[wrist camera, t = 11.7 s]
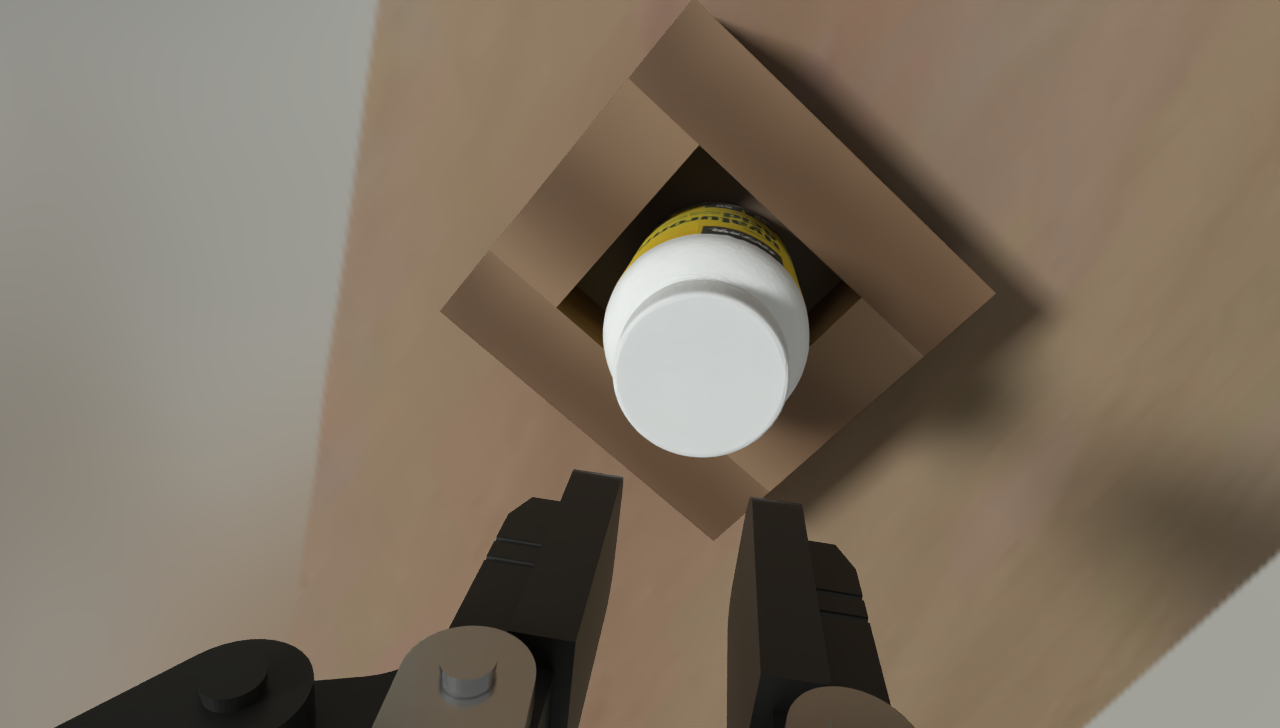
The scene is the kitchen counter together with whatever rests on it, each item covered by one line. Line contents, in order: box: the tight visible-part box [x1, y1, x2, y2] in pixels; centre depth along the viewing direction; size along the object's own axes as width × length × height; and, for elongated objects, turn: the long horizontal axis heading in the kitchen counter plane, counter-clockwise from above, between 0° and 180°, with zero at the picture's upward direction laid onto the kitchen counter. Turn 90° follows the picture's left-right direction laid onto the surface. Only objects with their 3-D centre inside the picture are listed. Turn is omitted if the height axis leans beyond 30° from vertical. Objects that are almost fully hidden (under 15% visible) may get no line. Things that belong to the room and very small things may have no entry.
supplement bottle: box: [603, 202, 809, 458], centre depth 21 cm, size 5×5×10 cm
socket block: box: [440, 0, 996, 541], centre depth 25 cm, size 12×12×4 cm
